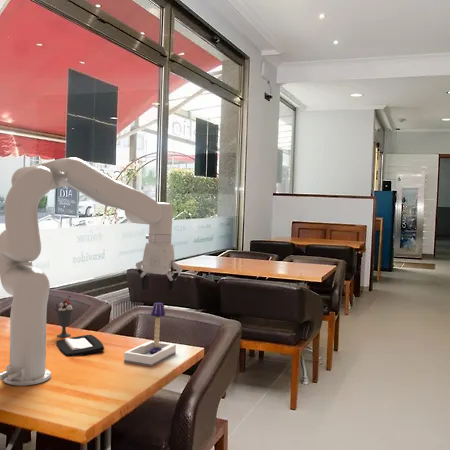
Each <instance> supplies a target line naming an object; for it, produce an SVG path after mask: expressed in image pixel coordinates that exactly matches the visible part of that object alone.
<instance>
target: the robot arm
mask: <svg viewBox="0 0 450 450" xmlns="http://www.w3.org/2000/svg"><path fill="white" fill-rule="evenodd" d="M10 182H11V187H10V189H9V191H8V193H7V195H6V197H5V201H4V209H3V211H4V224H5V229H4V230H3V231H2V232H1V233H0V283H1V286H2V288H3V290H4V291H5V292H6V293H7V294H8V295H10V296H12V302H11V307H10V313H9V314H10V316H9V317H10V318H9V320H10V321H9V328H10V329H9V331H10V332H9V365H6V369H5V370H4V371H2V372H0V381H2V380H3V382H4V383H5V384H7V385H10V386H21V387H22V386H31V385H32V386H33V385H38V384H41V383H44V382H46V381H48V380H50V378H51V377H52V372H51V370H49V369H47V368H46V358H47V357H46V355H47V352H46V351H47V311H48V309H47V308H48V301H49V296H50V287H51V286H50V285H51V284H50V280H49V277H48V276H47V274H46V273H45V272H44V271H42V270H41V269H39V268H37V267H35V266H33V262H34V261H36V260H37V259H38V258H39V256H40V254H41V251H42V241H41V236H40V226H39V219H38V218H39V217H38V216H39V215H38V208H39V204H40V203H41V200H42V199H43V198H44V197H45V195H47V194H48V193H49V192H50V191H53V190H55V189H59V188H62V187H70V188H72V189H74V190H75V191H77V192H79V193H81V194H82V195H84V196H86V197H88V198H90V199H91V200H92V201H94V202H96V203H97V204H98V203H99V204H101V205H104V206H107V207H111V208H115V209H118V210H122V211H124V215H125V218H126V219H127V220H128V221H129V222H131V223H133V224H140V225H148V227H149V228H148V229H149V230H148V234H146V235H145V239H146V240H148V242H145V246H144V249H143V250H144V251H143V256H142V260H140V261H138V262H136V263H135V267H136V269H137V273H138V274H139V276H140V278H141V289H142V290H143V291H144V290H148V289H149V283H150V277H149V274H153V275H166V276H167V278H168V279H169V280H168V281H167V293H173V292H174V291H175V285H176V284H175V283H176V280H177V279H178V278H179V277H180V276H181V273H182V271H183V269H184V268H183V267H182V266H181V265H180V264H178V263H177V262H175V250H174V245H173V243H172V236H173V216H174V215H173V214H174V212H173V209H174V208H173V204H172V203H170V202H159V201H156V200H155V199H153V198H152V197H150V196H149V195H147V194H145V193H144V192H141V191H140V190H138V189H136V188H134V187H132V186H129V185H127V184H125V183H123V182H120V181H118V180H116V179H114V178H112V177H110V176H109V175H107V174H105V173H104V172H102V171H101V170H99V169H97V168H96V167H94V166H92V165H91V164H89V163H88V162H86V161H84V160H83V159H81V158H78V157H64V158H58V159H54V160H51V161H45V162H42V163H41V162H40V163H37V164H31V165H27V166H23V167H20V168H18V169H16V170H15V172H13V174H12V176H11V181H10ZM175 269H176V271H175ZM174 272H175V273H174Z"/></svg>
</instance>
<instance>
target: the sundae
mask: <svg viewBox="0 0 450 450" xmlns="http://www.w3.org/2000/svg"><path fill="white" fill-rule="evenodd" d="M71 297H72V296H71V295H69V296H68V297H67V298H66V299H64V300H63V301H62V302H60V303H59V305H58V303H55V305H56V308H54V311H55V312H56V315H57V321H58V325H59V326H60V327H61V333H59V334H57V335H56V338H62V339H63V338H64V339H66V338H71V333H70V334H69V333H67V332H66V328H67V326H69V324H71V323H70V322H71V317H72V312H73V311H74V310H75V309H74V308H73V307H72V305H71V302H70V301H69V300H70V298H71Z"/></svg>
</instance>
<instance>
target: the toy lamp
mask: <svg viewBox="0 0 450 450" xmlns="http://www.w3.org/2000/svg"><path fill="white" fill-rule="evenodd" d="M165 311H166V310H165V307H164V303H162V302H154V303H153V305H152V310H151V314H150V315H151V316H153V317H154V334H153V336H154V339H153V341H154V347H153V348H151V350H150V353H151V354H155V353H157V352H159V351H161V348H160V347H159V342H160V337H161V336H160V331H161V330H160V328H161V325H160V324H161V317H164V316H166V312H165Z"/></svg>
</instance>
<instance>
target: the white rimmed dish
mask: <svg viewBox="0 0 450 450" xmlns="http://www.w3.org/2000/svg"><path fill="white" fill-rule="evenodd" d="M176 346H177V345H176V344H173V343H169V342H168V343H167V342H162V341H161V342H160V341H159V347H160V348H161V351H159V352H157V353H155V354H151V353H150V350H151V348H153V347H154V340H148V341H147V342H144V343H142V344H140V345H138V346H137V345H136V347H133V348H131V349H129V350H127V351H124V355H123V363H130V364H134V365H135V364H137V365H141V366H147V367H153V366H155V365H157V364H159V363H160V362H163V361H164V360H166V359H168V358H169V357H172V356H173V355H175V354H176V352H177V351H176V348H177V347H176Z"/></svg>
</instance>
